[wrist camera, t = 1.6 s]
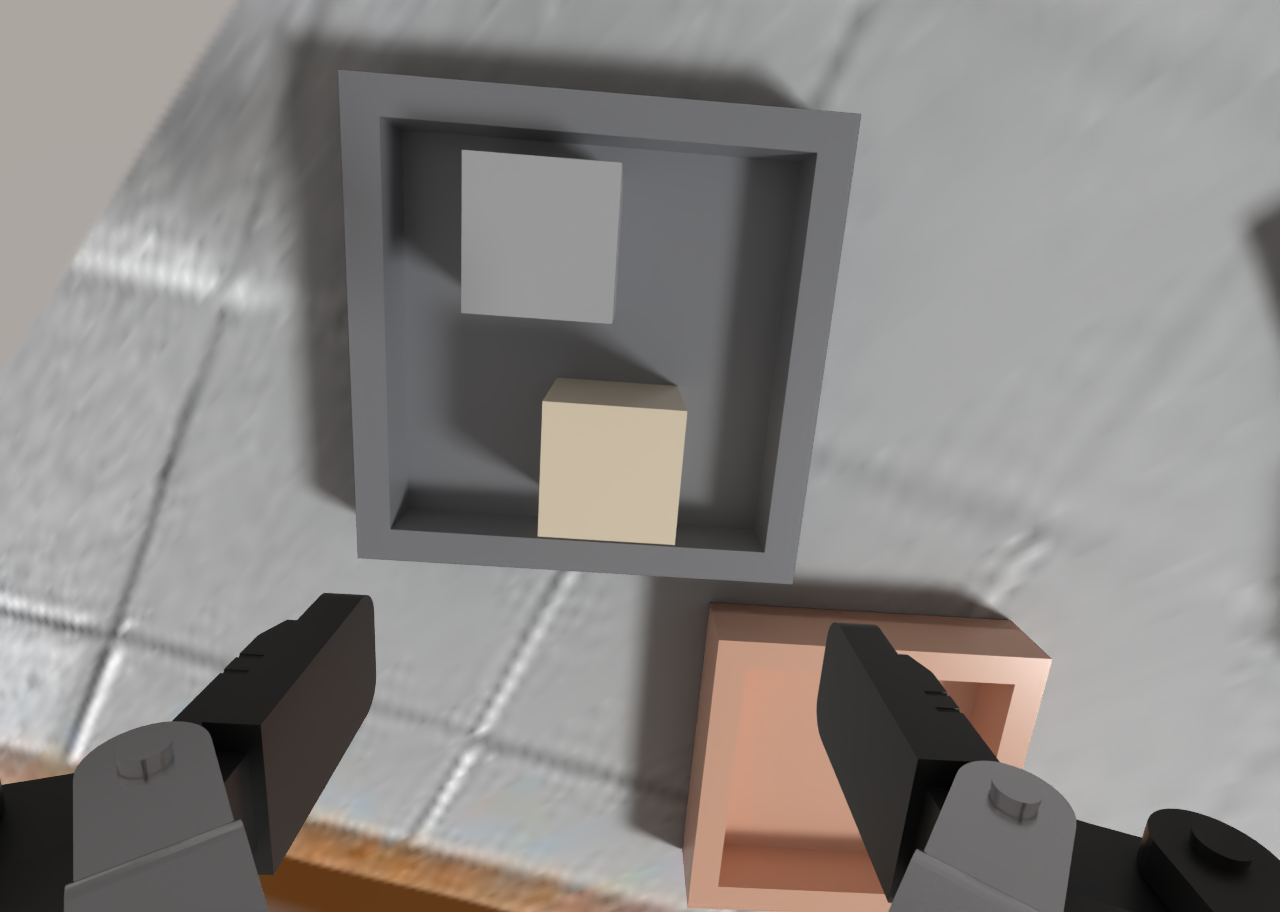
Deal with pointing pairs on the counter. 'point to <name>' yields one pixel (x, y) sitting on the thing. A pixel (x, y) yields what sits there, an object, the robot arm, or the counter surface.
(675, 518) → the beige cube
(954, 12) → the counter surface
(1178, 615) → the counter surface
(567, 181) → the light gray cube
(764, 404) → the bin
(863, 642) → the robot arm
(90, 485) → the counter surface
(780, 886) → the bin
